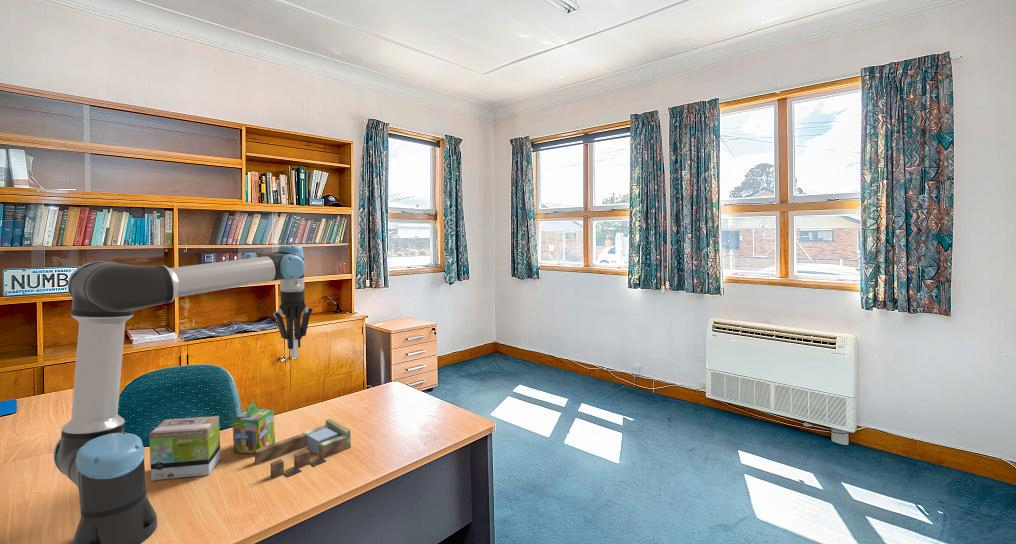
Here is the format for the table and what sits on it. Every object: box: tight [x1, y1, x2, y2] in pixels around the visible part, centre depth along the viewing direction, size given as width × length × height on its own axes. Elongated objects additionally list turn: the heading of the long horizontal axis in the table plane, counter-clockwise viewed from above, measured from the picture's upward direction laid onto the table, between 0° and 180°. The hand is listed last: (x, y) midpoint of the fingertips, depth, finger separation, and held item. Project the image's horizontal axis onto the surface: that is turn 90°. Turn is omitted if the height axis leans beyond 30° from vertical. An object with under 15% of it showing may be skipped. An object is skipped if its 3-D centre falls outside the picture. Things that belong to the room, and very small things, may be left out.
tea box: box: [148, 415, 221, 482], centre depth 135 cm, size 15×10×15 cm
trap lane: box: [254, 418, 352, 479], centre depth 145 cm, size 25×16×6 cm, turn 140°
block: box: [306, 428, 338, 456], centre depth 150 cm, size 7×7×5 cm
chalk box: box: [231, 402, 276, 455], centre depth 149 cm, size 9×9×15 cm
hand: (294, 357), depth 156 cm, fingers closed
